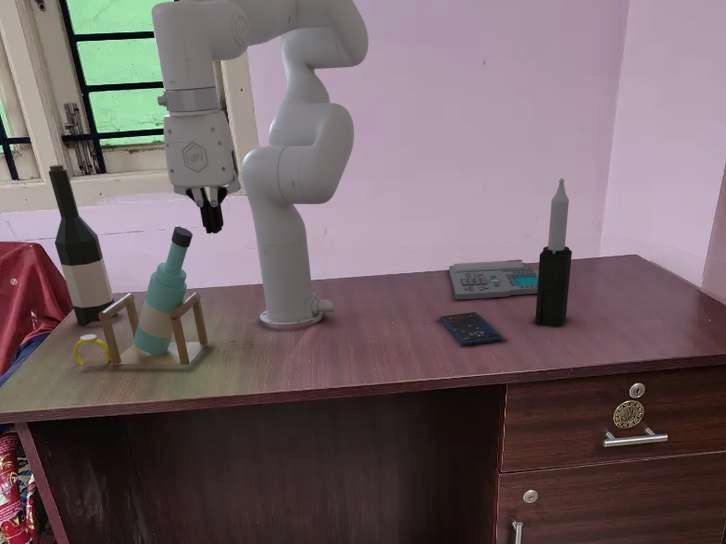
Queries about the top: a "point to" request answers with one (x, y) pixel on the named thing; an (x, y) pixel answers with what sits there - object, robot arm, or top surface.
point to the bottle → (163, 297)
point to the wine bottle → (79, 254)
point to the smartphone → (470, 328)
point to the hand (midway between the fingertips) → (214, 231)
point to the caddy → (177, 350)
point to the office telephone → (493, 279)
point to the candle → (554, 266)
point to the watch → (90, 339)
